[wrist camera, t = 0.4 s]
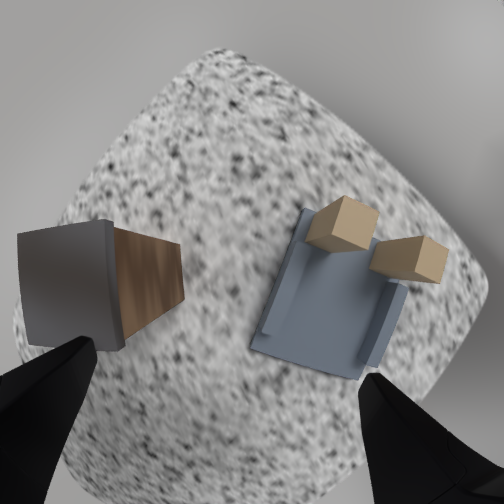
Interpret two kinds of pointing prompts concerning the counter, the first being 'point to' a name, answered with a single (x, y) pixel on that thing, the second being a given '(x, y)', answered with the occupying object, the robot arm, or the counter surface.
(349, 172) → the counter surface
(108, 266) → the rail end
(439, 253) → the base with wooden posts
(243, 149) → the counter surface
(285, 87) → the counter surface
